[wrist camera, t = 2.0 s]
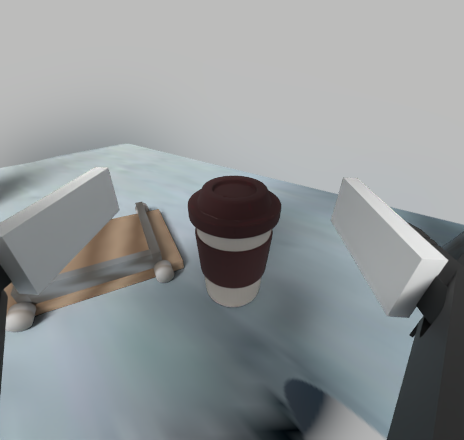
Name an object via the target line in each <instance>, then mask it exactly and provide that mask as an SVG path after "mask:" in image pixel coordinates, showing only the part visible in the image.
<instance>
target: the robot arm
mask: <svg viewBox="0 0 464 440" xmlns="http://www.w3.org/2000/svg"><path fill="white" fill-rule="evenodd" d="M118 211H119V206H118V202H117V198H116V195H115V191H114V187H113V184H112V180H111V176H110V172H109V169H108V168H102V167H94V168H93V169H91V170H89V171H88V172H86V173H84V174H83V175H81V176H79V177H77V178H76V179H74V180H72V181H71V182H69V183H67V184H66V185H64V186H62V187H60V188H59V189H57V190H55V191H54V192H52V193H50V194H49V195H47V196H45V197H43V198H42V199H40V200H38V201H37V202H35V203H33V204H32V205H30V206H28V207H26V208H25V209H23V210H21V211H20V212H18V213H16V214H15V215H13V216H11V217H9V218H8V219H6V220H4V221H3V222H1V223H0V393H1V380H2V367H3V354H4V341H5V328H6V316H7V303H8V296H7V293H6V292H5V291H4V288H6V287H7V286H8V285H9V284H10V283H12V284H13V285H14V287H15V288H16V290H17V291H18V293H19V294H34V295H39V294H40V293H41V292H42V290H43V289H44V288H45V287H46V286H47V285H48V284H49V283H50V282H51V281H52V280H53V279H54V278H55V277H56V276H57V275H58V274H59V273H60V272H61V271H62V270H63V269H64V268H65V267H66V266H67V264H68V263H69V262H70V261H71V260H72V259H73V258H74V257H75V256H76V255H77V254H78V253H79V252H80V251H81V250H82V249H83V248H84V247H85V246H86V245H87V244H88V243H89V242H90V241H91V239H92V238H93V237H94V236H95V235H96V234H97V233H98V232H99V231H100V230H101V229H102V228H103V227H104V226H105V225H106V224H107V223H108V222H109V221H110V220H111V219H112V218H113V217H114V216H115V215H116V213H117V212H118ZM331 222H332V223H333V225H334V227H335V229H336V230H337V232H338V234H339V235H340V237H341V239H342V240H343V242H344V244H345V245H346V247H347V249H348V251H349V252H350V254H351V256H352V257H353V259H354V261H355V262H356V264H357V266H358V268H359V269H360V271H361V273H362V274H363V276H364V278H365V279H366V281H367V283H368V284H369V286H370V288H371V290H372V291H373V293H374V295H375V296H376V298H377V300H378V301H379V303H380V305H381V307H382V308H383V310H384V312H385V313H386V315H387V316H390V317H406V318H409V317H410V315H411V314H412V312H413V311H414V309H415V308H416V307H418V309H419V310H420V311H421V313H422V314H423V315H424V316H423V317H422V319H421V320H420V321H419V323H418V324H417V325H416V327H415V328H414V330H413V331H412V332H411V334H410V336H411V337H414V336H415V338H414V342H413V345H412V349H411V353H410V356H409V360H408V364H407V367H406V371H405V375H404V378H403V382H402V386H401V389H400V393H399V397H398V400H397V404H396V408H395V412H394V415H393V419H392V423H391V426H390V430H389V434H388V437H387V440H464V232H463V233H461V234H460V235H458V236H457V237H456V238H454V239H453V240H451V241H450V242H448V243H447V244H446V245H444V246H443V247H440V246H438V245H437V243H436V242H435V241H434V240H432V239H430V237H429V236H428V235H427V234H425V233H424V232H423V231H422V230H421V229H419V228H417V227H415V226H413V225H412V224H410V223H407V222H405V221H404V220H403V219H402V218H401V217H400V216H399V215H398V214H397V213H395V212H394V211H393V210H392V209H391V208H390V207H389V206H388V205H386V203H384V202H383V201H382V200H381V199H380V198H379V197H378V196H377V195H376V194H374V193H373V192H372V191H371V190H370V189H369V188H368V187H366V185H365V184H363V183H362V182H361V181H360V180H359V179H358V178H343V180H342V184H341V187H340V191H339V194H338V197H337V201H336V204H335V207H334V211H333V214H332V218H331Z"/></svg>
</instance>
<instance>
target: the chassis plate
mask: <svg viewBox="0 0 464 440" xmlns="http://www.w3.org/2000/svg"><path fill="white" fill-rule="evenodd" d="M135 209H136V213H137V214H134V215H129V216H124V217H119V218H115V219H111V220H110V221H109V222H108V223H107V224H106V225H105V226H104V227H103V228H102V229H101V230H100V231H99V232H98V233H97V234H96V235H95V236H94V237H93V238H92V239H91V241H90V242H89V243H88V244H87V245H86V246H85V247H84V248H83V249H82V250H81V251H80V252H79V253H78V254H77V255H76V256H75V257H74V258H73V259H72V260H71V261H70V262H69V263H68V264H67V266H66V267H65V268H64V269H63V270H62V271H61V272H60V273H59V274H58V275H57V276H56V277H55V278H54V279H53V280H52V281H51V282H50V283H49V284H48V285H47V286H46V287H45V288H44V289H43V290H42V292H41V293H40V294H39V295H34V294H19V293H18V291H17V290H16V288H15V287H14V285H13V284H12V283H10V284H9V285H8V286H7V287H6V288H4V291H5V292H6V293H7V296H8V303H7V316H6V328H5V330H7V331H10V332H20V331H24V330H26V329H28V328H30V327H31V326H32V324H33V320H34V316H36V315H39V314H43V313H46V312H49V311H52V310H55V309H58V308H61V307H64V306H67V305H70V304H74V303H77V302H80V301H83V300H86V299H89V298H92V297H95V296H98V295H101V294H105V293H108V292H111V291H114V290H117V289H120V288H123V287H126V286H129V285H133V284H136V283H139V282H142V281H145V280H148V279H151V278H154V277H156V279H157V281H158V282H160V283H166V282H169V281H170V280H172V279H173V277H174V271H176V270H179V269H182V268H184V265H183V260H182V258H181V256H180V253H179V251H178V249H177V247H176V245H175V243H174V241H173V239H172V237H171V234H170V232H169V230H168V228H167V226H166V224H165V222H164V220H163V218H162V215H161V213H160V211H159V209H157V210H153V211H149V209H148V206H147V205H146V204H145V203H142V202H138V203H136V207H135Z"/></svg>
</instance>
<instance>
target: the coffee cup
mask: <svg viewBox="0 0 464 440" xmlns="http://www.w3.org/2000/svg"><path fill="white" fill-rule="evenodd" d="M188 212H189V218H190V221H191V223H192V224H193V225H194V226H195V227H196V229H195V234H196V240H197V246H198V252H199V258H200V263H201V269H202V272H203V274H204V276H205V282H206V288H207V292H208V294H209V296H210V297H211V298H212V299H213V300H214V301H215V302H217V303H218V304H220V305H223V306H226V307H240V306H244V305H246V304H248V303H250V302H251V301H252V300H253V299H254V298H255V297H256V295H257V294H258V291H259V287H260V283H261V278H262V275H263V274H264V271H265V267H266V263H267V258H268V254H269V249H270V244H271V240H272V234H273V231H272V229H273V228H274V227H275V226H276V225H277V223H278V221H279V218H280V212H281V203H280V201H279V199H278V197H277V196H276V195H275V194H273V193H272V192H270V191H268V189H267V187H266V186H265V185H264V184H263V183H262V182H260V181H258V180H256V179H253V178H249V177H244V176H223V177H218V178H214V179H212V180H210V181H208V182H206V183H205V184H204V185H203V187H202V189H200V190H199V191H197V192H196V193H194V194H193V195H192V196H191V198H190V199H189V201H188Z"/></svg>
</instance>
